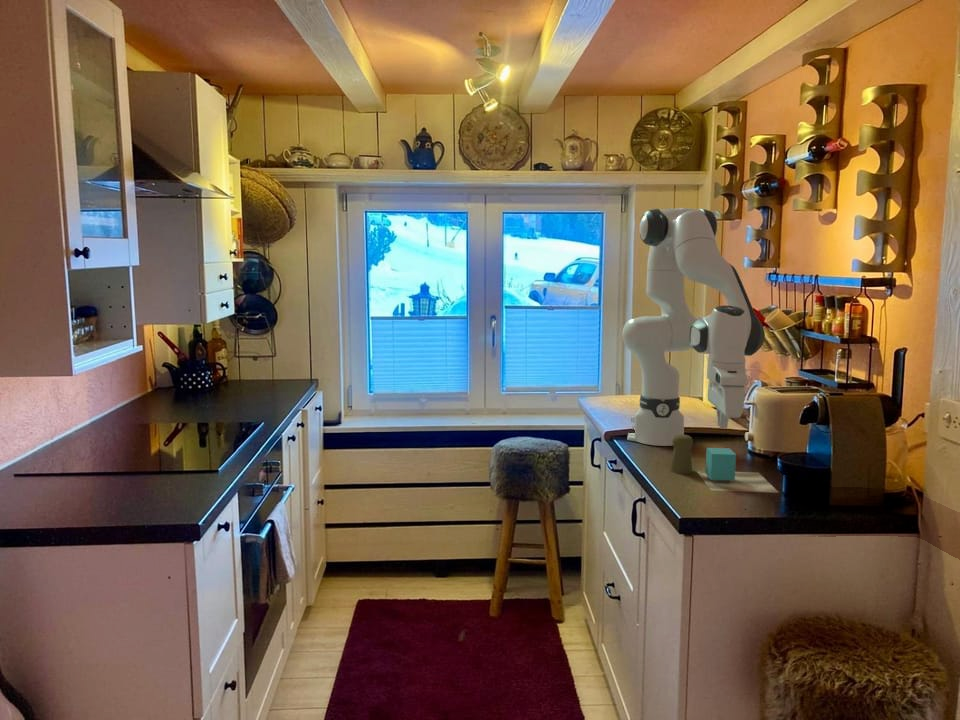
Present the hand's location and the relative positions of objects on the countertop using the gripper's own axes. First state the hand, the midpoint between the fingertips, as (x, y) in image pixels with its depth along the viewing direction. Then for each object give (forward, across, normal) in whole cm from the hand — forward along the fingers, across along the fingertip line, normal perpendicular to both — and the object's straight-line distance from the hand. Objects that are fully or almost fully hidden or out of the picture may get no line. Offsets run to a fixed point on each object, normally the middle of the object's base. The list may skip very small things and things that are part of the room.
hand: (722, 427), depth 182 cm
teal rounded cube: (+13, +1, 0) cm, 13 cm away
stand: (+15, +1, +4) cm, 16 cm away
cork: (+15, -7, -8) cm, 19 cm away
